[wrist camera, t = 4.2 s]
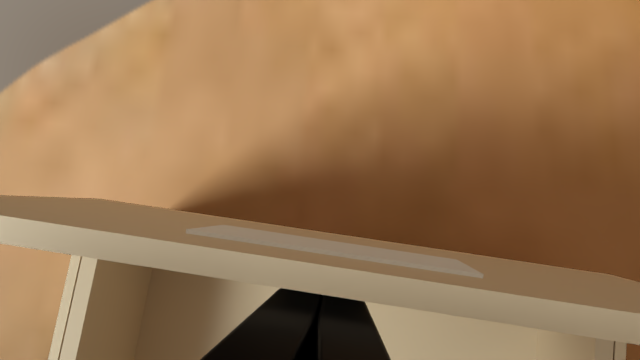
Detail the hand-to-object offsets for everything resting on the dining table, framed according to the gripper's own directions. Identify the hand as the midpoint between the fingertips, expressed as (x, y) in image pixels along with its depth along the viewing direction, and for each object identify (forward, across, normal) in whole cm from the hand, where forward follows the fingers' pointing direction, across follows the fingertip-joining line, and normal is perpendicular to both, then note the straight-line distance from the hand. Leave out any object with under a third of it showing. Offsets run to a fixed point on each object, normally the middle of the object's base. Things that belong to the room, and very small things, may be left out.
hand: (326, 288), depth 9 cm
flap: (+5, 0, -4) cm, 7 cm away
